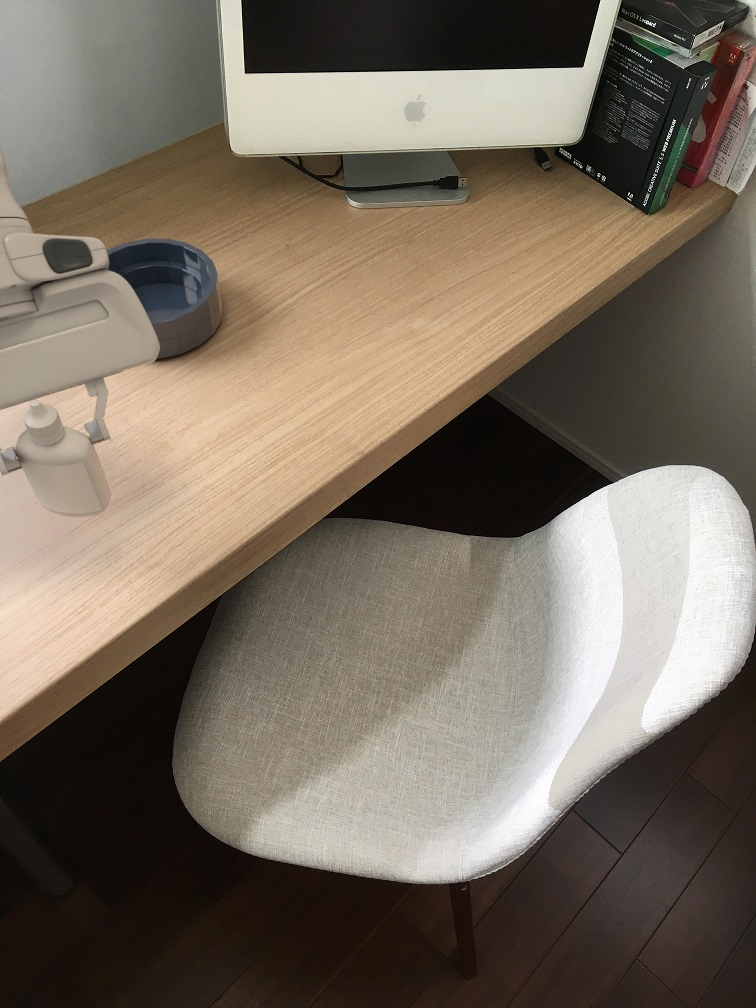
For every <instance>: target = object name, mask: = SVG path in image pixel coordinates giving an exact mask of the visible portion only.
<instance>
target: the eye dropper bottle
mask: <svg viewBox="0 0 756 1008" xmlns="http://www.w3.org/2000/svg"><path fill="white" fill-rule="evenodd" d="M22 419H23V423H24V425H25V427H26V430H24V431H23V432H21V434H20V435H19V437H18V438H17V441H16V444H15V446H14V449H15V452H16V454H17V457H16V458H17V459H18V460H20V463H21V465H22V468H23V469H22V470H23V473H24V475H25V477H26V479H27V481H28V483H29V485H30V486H31V488H32V491H33V493H34V495H35V497H36V499H37V500H38V503H39V505H40V506H41V507H42V508H43V509H45V510H46V511H48V512H50V513H53V514H55V515H59V516H63V517H69V518H84V517H92V516H97V515H100V514H102V513H104V512H106V511H107V509H108V507H109V504H110V501H111V497H112V490H111V487H110V484H109V482H108V479H107V475H106V474H105V470H104V468H103V466H102V462H101V460H100V458H99V455H98V453H97V450H96V447H95V444H94V445H92V442H91V440H90V438H89V435H87V434H85V433H83V432H81V431H79V430H77V429H74V428H73V427H69V426H66V425H64V424H63V422H62V419H61V417H60V413H59V412H58V409H57V408H55V407H54V406H53V405H50V404H47V403H46V404H44V403H43V404H42V402H41V401H40V399H38V398H37V399H34V400H31V401H29V409H27V411H26V412H25V413H24V415H23V418H22Z"/></svg>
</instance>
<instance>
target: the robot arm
mask: <svg viewBox="0 0 756 1008" xmlns="http://www.w3.org/2000/svg"><path fill="white" fill-rule="evenodd" d="M108 268H109V257H108V253H107V248H106V246H105V244H104V242H103V241H102V240H101V239H99V238H97V237H94V236H93V237H92V236H80V235H79V236H78V235H77V236H76V235H59V234H58V235H57V234H43V233H34V229H33V227H32V226H31V223H30V220H29V218H28V216H27V214H26V212H25V211H24V210H23V209H22V207H21V206H20V205H19V203H18V202H17V200H16V198H15V197H14V194H13V192H12V190H11V187H10V183H9V177H8V168H7V163H6V159H5V156H4V155H3V152H2V149H1V148H0V411H1V410H5V409H8V408H11V407H15V406H19V405H21V404H25V403H27V402H30V401H32V400H34V399H37V400H38V399H40V398H43V397H47V396H50V395H53V394H56V393H59V392H63V391H67V390H68V389H73V388H76V387H78V386H82V385H84V388H85V390H86V392H87V395H88V397H89V398H93V397H96V400H95V406H94V413H93V418H92V419H93V420H90V421H87V422H84V423H83V427H84V429H85V431H86V432H87V433H88V437H89V438H90V440H91V442H92V445H94V446H95V445H97V444H100V443H103V442H107V441H109V440H112V438H111V434H110V431H109V429H108V427H107V425H106V422H105V420H104V417H105V414H106V409H107V403H108V395H109V389H108V387H107V385H106V382H105V380H104V378H107V377H110V376H115V375H118V374H120V373H123V372H126V371H129V370H132V369H137V368H140V367H142V366H145V365H148V364H149V365H150V364H151V363H154V362H155V361H156V360H157V359H158V358H157V356H158V353H159V350H160V344H159V341H158V338H157V336H156V333H155V331H154V328H153V326H152V324H151V322H150V320H149V318H148V315H147V313H146V312H145V310H144V308H143V306H142V304H141V302H140V300H139V298H138V297H137V295H136V293H135V292H134V290H133V288H132V287H131V286H130V284H129V283H128V282H127V281H126V280H125V279H124V278H123V277H122V276H120V275H119V274H117V273H115V272H112V271H108ZM20 470H23V468H22V465H21V463H20V460H18V458H17V454H16V452H15V446H11V447H8V448H5V449H3V448H1V447H0V474H1V476H2V477H3V476H6V475H10V474H13V473H15V472H18V471H20Z"/></svg>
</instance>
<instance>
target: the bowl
mask: <svg viewBox="0 0 756 1008" xmlns="http://www.w3.org/2000/svg"><path fill="white" fill-rule="evenodd" d="M106 251H107V253H108V257H109V268H108V271H112V272H115V273H117V274H119V275H120V276H122V277H123V278H124V279H125V280H126V281H127V282H128V283H129V284H130V286H131V287H132V288H133V290H134V292H135V293H136V295H137V297H138V298H139V300H140V302H141V304H142V306H143V308H144V310H145V312H146V313H147V315H148V318H149V320H150V322H151V324H152V326H153V328H154V331H155V333H156V336H157V338H158V341H159V344H160V350H159V353H158V356H157V358H156V359H164V358H165V359H166V358H169V357H174V356H179V355H181V354H184V353H186V352H188V351H191V350H193V349H196V348H198V347H199V346H201V345H202V344H203V343H204V342H206V341H207V340H208V339H209V338H210V337H212V336H213V335H214V334H215V332H216V330H217V328H218V327H219V325H220V324H221V322H222V317H223V301H222V294H221V287H220V281H219V273H218V271H217V268H216V266H215V263H214V261H213V260H212V258H210V256H209V255H208V254H206V252H204V251H203V250H202V249H200V248H198V247H196V246H194V245H192V244H190V243H188V242H184V241H180V240H177V239H171V238H143V239H138V240H137V239H136V240H131V241H128V242H123V243H121V244H118V245H116V246H113V247H111V248H109V249H106Z"/></svg>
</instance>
